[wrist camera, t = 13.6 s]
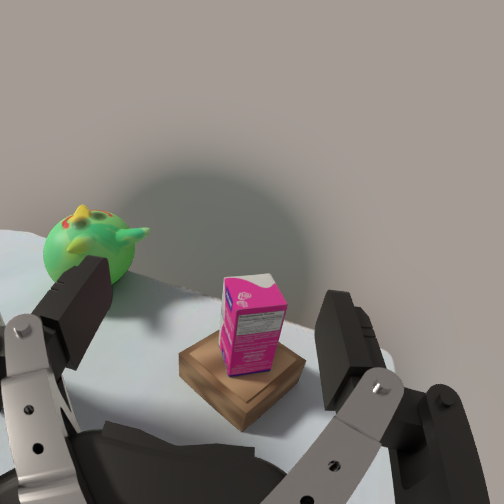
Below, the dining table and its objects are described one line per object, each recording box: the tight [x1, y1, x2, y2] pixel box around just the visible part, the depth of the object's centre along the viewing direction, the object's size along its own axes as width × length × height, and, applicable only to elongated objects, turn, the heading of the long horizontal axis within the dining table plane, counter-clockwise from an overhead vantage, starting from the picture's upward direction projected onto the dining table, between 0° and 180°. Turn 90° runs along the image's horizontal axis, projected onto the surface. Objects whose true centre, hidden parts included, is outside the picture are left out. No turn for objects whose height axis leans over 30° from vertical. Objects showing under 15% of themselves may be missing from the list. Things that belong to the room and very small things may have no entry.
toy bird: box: [43, 205, 151, 284], centre depth 52 cm, size 18×17×15 cm
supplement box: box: [218, 274, 287, 377], centre depth 37 cm, size 6×6×12 cm
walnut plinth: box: [179, 329, 306, 432], centre depth 41 cm, size 12×12×5 cm
